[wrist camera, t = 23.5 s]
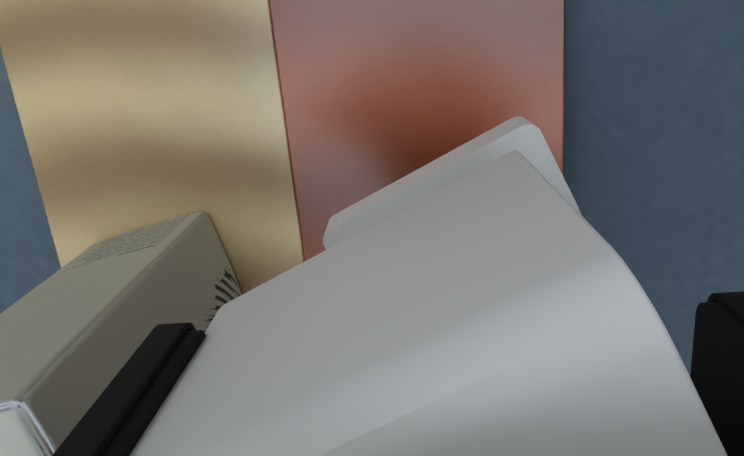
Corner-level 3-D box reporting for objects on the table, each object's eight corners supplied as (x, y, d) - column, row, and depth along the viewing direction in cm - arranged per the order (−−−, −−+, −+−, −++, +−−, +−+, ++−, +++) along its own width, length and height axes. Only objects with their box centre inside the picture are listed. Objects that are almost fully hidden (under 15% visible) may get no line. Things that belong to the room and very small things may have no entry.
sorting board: (556, 304, 26) (562, 315, 25) (91, 330, 27) (80, 341, 26) (561, -452, 18) (570, -478, 17) (-91, -351, 19) (-117, -369, 19)
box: (138, 332, 26) (-96, 615, 14) (92, 238, 25) (-212, 459, 13) (255, 301, 25) (113, 570, 13) (213, 201, 24) (14, 400, 12)
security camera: (263, 234, 16) (62, 551, 6) (515, 95, 14) (745, 229, 5) (386, 422, 17) (375, 904, 8) (623, 312, 16) (953, 728, 7)
